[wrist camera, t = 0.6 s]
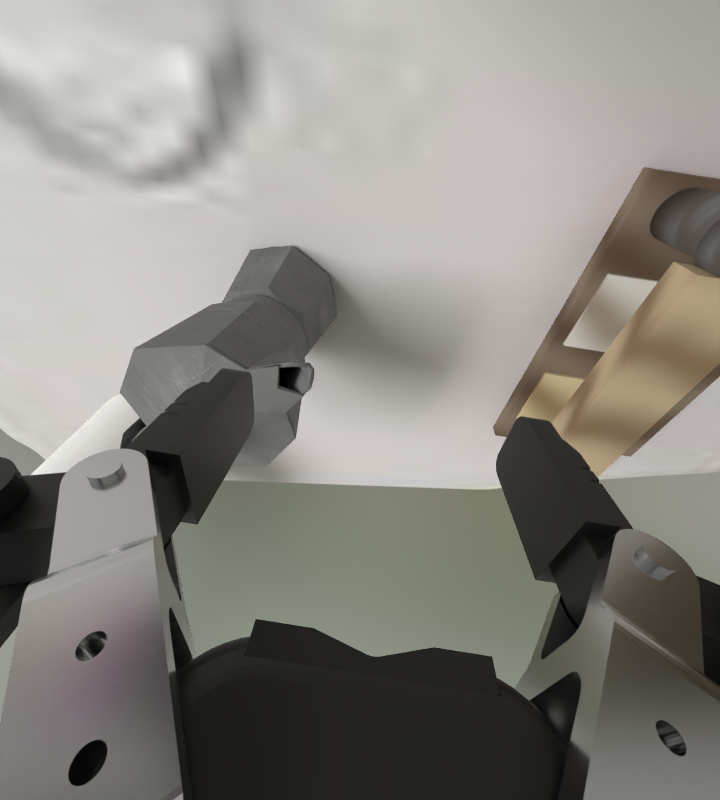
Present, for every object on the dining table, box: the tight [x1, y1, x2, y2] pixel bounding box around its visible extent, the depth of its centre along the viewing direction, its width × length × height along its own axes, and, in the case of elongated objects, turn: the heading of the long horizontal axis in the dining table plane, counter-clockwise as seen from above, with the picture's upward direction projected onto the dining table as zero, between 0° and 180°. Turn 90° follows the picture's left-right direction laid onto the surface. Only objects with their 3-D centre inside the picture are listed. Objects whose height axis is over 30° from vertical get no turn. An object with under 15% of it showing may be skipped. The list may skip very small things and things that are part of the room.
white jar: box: [31, 394, 140, 475], centre depth 35 cm, size 12×12×20 cm
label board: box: [493, 168, 720, 456], centre depth 26 cm, size 24×15×6 cm, turn 174°
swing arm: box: [552, 219, 720, 477], centre depth 23 cm, size 24×5×2 cm, turn 174°
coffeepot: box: [120, 246, 337, 466], centre depth 22 cm, size 15×9×18 cm, turn 119°
